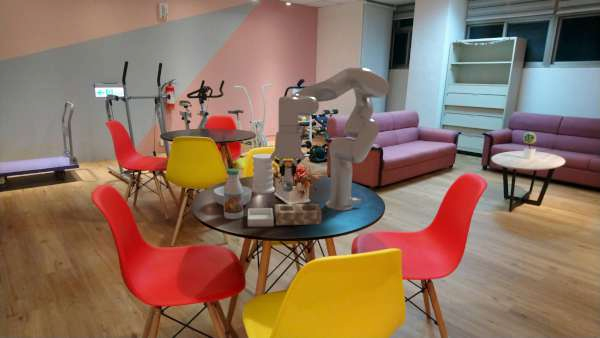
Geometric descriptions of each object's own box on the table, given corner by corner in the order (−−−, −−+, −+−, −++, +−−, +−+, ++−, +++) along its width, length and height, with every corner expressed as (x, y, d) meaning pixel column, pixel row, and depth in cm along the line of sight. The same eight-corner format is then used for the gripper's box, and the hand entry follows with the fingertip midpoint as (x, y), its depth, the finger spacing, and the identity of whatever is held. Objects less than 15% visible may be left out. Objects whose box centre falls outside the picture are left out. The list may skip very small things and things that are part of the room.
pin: (292, 188, 151) (292, 159, 148) (293, 191, 147) (293, 162, 144) (282, 188, 150) (282, 159, 147) (283, 191, 146) (283, 162, 143)
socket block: (317, 214, 158) (317, 201, 156) (321, 224, 148) (321, 209, 147) (274, 215, 156) (274, 202, 154) (276, 225, 146) (276, 210, 145)
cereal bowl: (249, 212, 159) (249, 196, 157) (210, 211, 159) (209, 195, 157) (253, 199, 175) (253, 185, 174) (218, 198, 175) (218, 184, 173)
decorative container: (249, 193, 184) (248, 157, 179) (254, 186, 195) (254, 153, 191) (272, 194, 183) (272, 159, 178) (276, 187, 194) (276, 154, 189)
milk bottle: (220, 216, 154) (219, 169, 149) (235, 211, 159) (235, 166, 154) (231, 221, 148) (230, 173, 143) (246, 216, 154) (246, 170, 149)
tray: (272, 214, 156) (272, 208, 156) (273, 226, 145) (273, 218, 144) (248, 215, 155) (248, 208, 154) (247, 226, 144) (247, 219, 143)
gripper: (308, 127, 147) (307, 172, 151) (266, 127, 145) (266, 173, 149) (311, 130, 140) (310, 177, 144) (266, 130, 138) (267, 178, 142)
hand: (287, 174), depth 147 cm, fingers closed on pin, 4 cm apart
